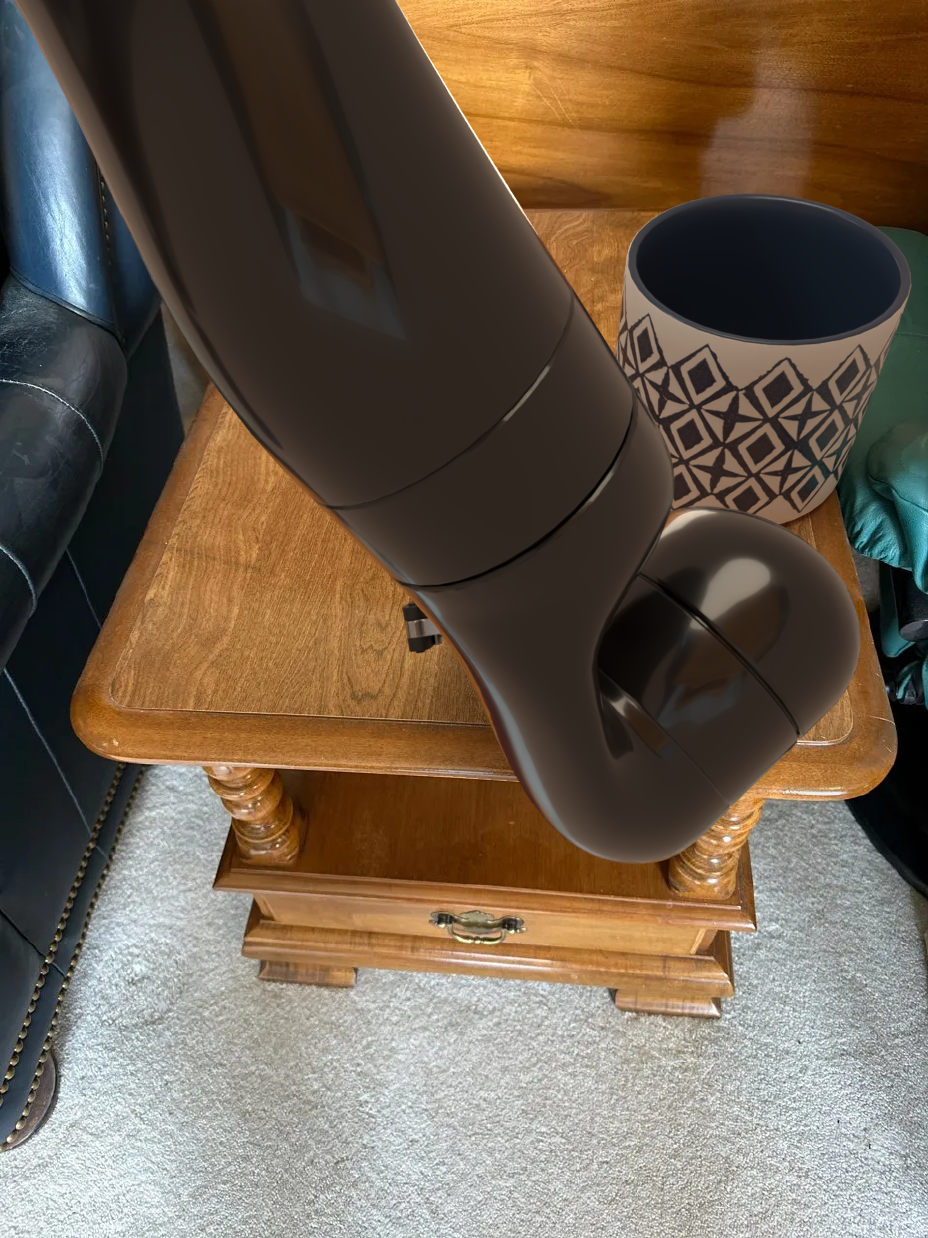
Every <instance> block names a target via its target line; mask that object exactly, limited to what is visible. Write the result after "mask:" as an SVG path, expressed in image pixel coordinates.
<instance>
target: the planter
mask: <svg viewBox="0 0 928 1238" xmlns="http://www.w3.org/2000/svg"><path fill="white" fill-rule="evenodd" d="M911 289H912V276H911V270H910V266H909V264H908V261H907V258H906V257H905V255H904V254H903V252H902V251H901V249H900V248H899V246H897V244H896V243H895V242H894V241H893V240H892V239H891V238H890V237H889V236H888V235H886V234H885V233H884V232H883V231H881V230H880V229H879V228H877V227H876V226H875V225H873V224H871V223H870V222H868V221H867V220H864V219H863V218H861V217H859V216H857V215H855V214H852V213H851V212H848V211H845V210H844V209H840V208H839V207H834V206H832V205H829V204H826V203H822V202H819V201H814V200H811V199H806V198H801V197H795V196H791V195H790V196H789V195H782V194H771V193H729V194H721V195H714V196H708V197H703V198H699V199H694V200H690V201H686V202H683V203H681V204H678V205H676V206H673V207H671V208H669V209H666V210H665V211H662V212H661V213H659V214H657V215H656V216H654V217H653V218H651V219H650V220H649V221H648V222H646V223H645V224H644V225H643V226H642V227H641V228H640V229H639V230H638V231H637V232H636V233H635V235H634V237H633V239H632V241H631V242H630V244H629V246H628V250H627V254H626V258H625V267H624V274H623V283H622V292H621V301H620V311H619V319H618V329H617V335H616V347H615V353H614V355H615V356H616V358H617V360H618V361H619V363H620V364H621V366H622V368H623V369H624V371H625V372H626V374H627V376H628V378H629V379H630V381H631V382H632V383H633V385H634V387H635V388H636V390H637V391H638V393H639V395H640V396H641V398H642V400H643V401H644V403H645V404H646V406H647V408H648V409H649V411H650V413H651V414H652V416H653V418H654V420H655V421H656V423H657V425H658V427H659V428H660V431H661V433H662V435H663V437H664V439H665V442H666V444H667V446H668V449H669V452H670V455H671V458H672V463H673V469H674V476H675V479H674V497H673V502H672V507H671V511H672V510H677V509H682V508H687V507H695V506H712V507H722V508H730V509H736V510H740V511H744V512H748V513H751V514H754V515H757V516H760V517H763V518H766V519H768V520H770V521H773V522H775V523H777V524H779V525H782V524H785V523H788V522H791V521H794V520H797V519H799V518H800V517H802V516H804V515H806V514H809V513H810V512H812V511H813V510H815V509H816V508H817V507H818V506H820V505H821V504H822V503H823V502H824V501H825V500H827V498H828V497H829V496H830V495H831V494H832V493H833V491H834V490H835V488H836V486H837V484H838V482H839V481H840V479H841V476H842V473H843V471H844V468H845V466H846V463H847V461H848V458H849V455H850V453H851V450H852V448H853V445H854V442H855V440H856V437H857V435H858V433H859V430H860V427H861V424H862V422H863V420H864V416H865V413H866V411H867V408H868V406H869V403H870V401H871V398H872V396H873V392H874V390H875V387H876V385H877V382H878V380H879V377H880V375H881V372H882V370H883V366H884V363H885V361H886V358H887V356H888V354H889V351H890V348H891V345H892V343H893V340H894V338H895V335H896V332H897V330H898V327H899V324H900V322H901V320H902V319H901V318H902V317H903V313H904V309H905V308H906V305H907V303H908V299H909V296H910V292H911Z"/></svg>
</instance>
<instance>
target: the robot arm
mask: <svg viewBox="0 0 928 1238" xmlns="http://www.w3.org/2000/svg"><path fill="white" fill-rule="evenodd" d="M12 1H13V3H14V5H15V6H16V8H17V10H18V11H19V13H20V15H21V17H22V18H23V19H24V22H25V23H26V24H27V26H28V28H29V30H30V32H31V33H32V35H33V38H34V39H35V41H36V44H37V45H38V48H39V49H40V51H41V53H42V55H43V57H44V59H45V61H46V63H47V64H48V67H49V68H50V70H51V72H52V75H53V77H54V78H55V79H56V81H57V84H58V85H59V88H60V89H61V92H62V93H63V95H64V98H65V99H66V101H67V103H68V105H69V107H70V109H71V111H72V113H73V114H74V117H75V118H76V121H77V123H78V125H79V127H80V129H81V131H82V134H83V135H84V138H85V139H86V142H87V144H88V146H89V148H90V150H91V152H92V154H93V157H94V158H95V161H96V163H97V165H98V168H99V170H100V172H101V174H102V177H103V179H104V181H105V183H106V186H107V188H108V190H109V192H110V194H111V196H112V198H113V201H114V203H115V205H116V207H117V209H118V211H119V214H120V216H121V217H122V220H123V221H124V223H125V227H126V228H127V230H128V232H129V234H130V236H131V239H132V241H133V243H134V245H135V247H136V249H137V251H138V253H139V256H140V258H141V260H142V262H143V264H144V266H145V269H146V271H147V272H148V274H149V276H150V279H151V280H152V283H153V285H154V286H155V288H156V290H157V293H158V294H159V296H160V299H162V301H163V303H164V305H165V308H166V309H167V311H168V313H169V314H170V316H171V318H172V321H174V323H175V325H176V327H177V328H178V330H179V332H180V334H181V335H182V337H183V339H184V340H185V342H186V344H187V345H188V347H189V349H190V350H191V352H192V354H193V356H194V357H195V358H196V360H197V361H198V363H199V365H200V366H201V368H202V369H203V370H204V372H205V373H206V375H207V376H208V378H209V380H210V381H211V382H212V384H213V386H214V387H215V389H216V390H217V391H218V393H219V394H220V396H222V398H223V400H224V401H225V402H226V403H227V405H228V406H229V407H230V408H231V409H232V411H233V412H234V414H235V415H236V416H237V418H238V419H239V420H240V421H241V423H242V424H243V425H244V427H245V428H246V429H247V431H248V432H249V433H250V435H251V436H252V437H253V438H254V439H255V440H256V442H258V443H259V445H260V447H262V448H263V450H265V452H266V453H267V454H268V455H269V456H270V457H271V458H272V459H273V461H274V462H275V463H276V464H277V465H278V467H279V468H280V469H282V471H284V473H285V474H286V475H288V476H289V478H290V479H292V480H293V482H294V483H295V484H296V485H297V486H298V487H299V488H300V489H301V490H302V491H303V492H304V493H305V494H306V495H307V496H308V497H309V498H310V499H312V500H313V501H314V502H315V503H316V504H317V505H318V506H319V507H320V508H321V509H322V510H323V511H324V512H325V513H326V515H327V516H329V518H331V519H332V520H333V521H334V522H335V523H336V524H337V525H338V526H339V527H340V528H341V529H342V530H343V531H344V532H345V533H346V534H347V535H348V536H349V537H350V538H351V539H352V540H353V541H354V542H355V543H356V544H357V545H358V546H359V547H360V548H361V549H362V550H363V551H364V552H365V553H366V554H367V555H368V556H369V557H370V558H371V559H372V560H373V561H374V562H375V563H376V564H377V565H378V566H379V567H380V568H381V569H382V570H383V571H384V572H385V573H387V574H388V576H389V577H390V578H391V579H392V580H393V582H395V583H396V584H397V585H398V587H400V588H401V590H402V591H403V592H404V593H406V595H407V596H408V597H409V598H410V602H408V603H406V604H405V605H403V606H402V607H401V609H402V616H403V623H404V629H405V635H406V640H407V646H408V651H409V652H410V653H415V654H423V653H425V652H426V651H427V650H430V649H432V648H433V647H434V646H440V645H442V644H443V641H442V638H443V639H444V641H445V642H446V644H447V645H448V647H449V648H450V650H451V652H452V653H453V655H454V656H455V658H456V661H458V663H459V665H460V666H461V668H462V670H463V671H464V673H465V675H466V676H467V679H468V680H469V683H470V684H471V686H472V688H473V690H474V692H475V694H476V697H477V698H478V701H479V703H480V706H481V708H482V710H483V712H484V714H485V716H486V718H487V721H488V724H489V725H490V727H491V729H492V732H493V734H494V736H495V738H496V741H497V743H498V745H499V747H500V750H501V751H502V753H503V756H504V758H505V760H506V762H507V764H508V765H509V767H510V769H511V771H512V772H513V774H514V776H515V778H516V779H517V781H518V783H519V785H520V786H521V788H522V790H523V791H524V793H525V795H526V796H527V797H528V799H529V801H530V802H531V803H532V805H533V806H534V807H535V808H536V810H537V811H538V813H539V814H540V815H541V816H542V817H543V819H544V820H545V821H546V822H547V823H548V824H549V825H550V826H551V827H552V828H553V829H554V830H555V831H556V832H557V833H558V834H559V835H560V836H561V837H562V838H564V840H566V841H567V842H569V843H570V844H572V845H573V846H574V847H576V848H577V849H579V850H581V851H583V852H584V853H585V854H586V853H587V854H588V855H590V856H592V857H594V858H597V859H600V860H604V861H607V862H611V863H616V864H625V865H648V864H655V863H658V862H662V861H666V860H668V859H671V858H673V857H675V856H678V855H679V854H681V853H682V852H684V851H685V850H687V849H688V848H689V847H691V846H692V845H694V844H695V843H696V842H698V841H699V840H700V839H701V838H703V836H704V835H705V834H706V833H707V832H709V830H711V828H712V827H713V826H715V824H717V822H719V820H720V819H722V818H723V816H725V814H726V813H728V812H729V811H730V809H731V808H730V807H733V806H734V805H735V804H736V803H737V802H738V801H739V800H740V799H741V798H742V797H743V796H745V794H747V792H749V791H750V789H752V787H754V786H755V785H756V784H757V783H758V782H759V781H760V780H761V779H762V778H763V777H764V776H765V775H766V774H767V773H768V772H769V771H770V770H771V769H772V768H774V766H775V765H776V764H778V763H779V761H780V760H781V759H782V758H784V756H785V755H787V753H789V752H790V751H791V750H792V749H793V748H794V747H795V746H796V745H797V744H798V739H803V738H804V737H805V736H806V735H807V734H808V733H809V732H810V731H811V730H812V729H813V728H814V727H815V726H816V725H817V724H818V723H819V722H820V721H821V720H822V719H823V718H824V717H825V716H827V714H828V713H829V712H830V711H831V710H832V708H833V707H835V706H836V705H837V703H838V702H839V701H840V699H841V698H842V697H843V695H844V694H845V692H846V691H847V690H848V688H849V686H850V684H851V683H852V679H853V678H854V676H855V674H856V671H857V668H858V664H859V659H860V656H861V655H860V653H861V626H860V620H859V617H858V613H857V610H856V606H855V603H854V600H853V598H852V595H851V593H850V591H849V589H848V587H847V585H846V584H845V582H844V580H843V579H842V577H841V576H840V575H839V573H838V571H837V570H836V569H835V568H834V567H833V565H832V564H831V563H830V562H829V560H827V558H826V557H825V556H824V555H823V554H822V553H821V552H819V550H817V549H816V548H815V547H814V546H813V545H811V544H810V543H809V542H808V541H806V540H805V539H804V538H803V537H801V536H800V535H798V534H797V533H795V532H794V531H792V530H790V529H788V528H787V527H786V526H783V525H782V524H777V523H775V522H773V521H770V520H768V519H766V518H763V517H760V516H757V515H754V514H751V513H748V512H744V511H740V510H736V509H730V508H722V507H712V506H695V507H687V508H682V509H677V510H672V511H671V507H672V502H673V497H674V479H675V476H674V469H673V463H672V458H671V455H670V452H669V449H668V446H667V444H666V442H665V439H664V437H663V435H662V433H661V431H660V428H659V427H658V425H657V423H656V421H655V420H654V418H653V416H652V414H651V413H650V411H649V409H648V408H647V406H646V404H645V403H644V401H643V400H642V398H641V396H640V395H639V393H638V391H637V390H636V388H635V387H634V385H633V383H632V382H631V381H630V379H629V378H628V376H627V374H626V372H625V371H624V369H623V368H622V366H621V364H620V363H619V361H618V360H617V358H616V356H615V353H614V351H613V350H612V349H611V347H610V345H609V344H608V342H607V340H606V339H605V337H604V336H603V333H602V332H601V331H600V329H599V327H598V326H597V325H596V323H595V322H594V319H593V318H592V316H591V315H590V313H589V312H588V310H587V308H586V306H585V305H584V303H583V302H582V301H581V299H580V297H579V296H578V294H577V292H576V291H575V289H574V287H573V286H572V284H571V283H570V282H569V280H568V279H567V277H566V275H565V273H564V272H563V270H562V269H561V267H560V265H559V264H558V263H557V261H556V259H555V258H554V256H553V255H552V252H550V250H549V248H548V247H547V245H546V244H545V242H544V241H543V239H542V238H541V236H540V234H539V233H538V232H537V230H536V228H535V227H534V225H533V224H532V221H530V219H529V217H528V216H527V214H526V213H525V211H524V209H523V208H522V206H521V204H520V203H519V201H518V200H517V198H516V197H515V195H514V194H513V192H512V191H511V189H510V187H509V185H508V183H506V180H505V179H504V177H503V175H501V173H500V172H499V169H498V167H497V166H496V165H495V163H494V161H493V160H492V158H491V157H490V156H489V153H488V152H487V150H486V149H485V147H484V146H483V144H482V142H481V140H480V139H479V137H478V136H477V134H476V132H475V131H474V129H473V128H472V126H471V125H470V123H469V121H468V119H467V118H466V116H465V114H464V113H463V111H462V109H461V108H460V106H459V104H458V102H457V101H456V99H455V98H454V96H453V95H452V93H451V91H450V90H449V88H448V87H447V85H446V83H445V81H444V80H443V78H442V76H441V75H440V73H439V72H438V69H437V68H436V67H435V66H436V65H434V63H433V62H432V60H431V58H430V56H429V55H428V53H427V52H426V50H425V48H424V46H423V44H422V43H421V42H420V40H419V38H418V36H417V34H416V33H415V31H414V29H413V28H412V26H411V24H410V23H409V20H408V19H407V17H406V14H405V13H404V12H403V9H402V8H401V6H400V5H399V2H398V1H397V0H12Z"/></svg>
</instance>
